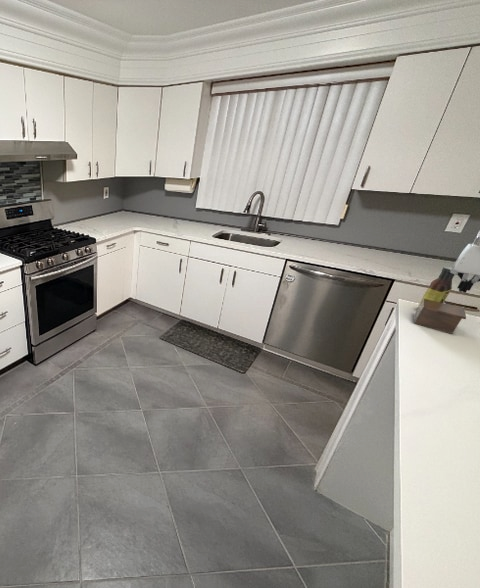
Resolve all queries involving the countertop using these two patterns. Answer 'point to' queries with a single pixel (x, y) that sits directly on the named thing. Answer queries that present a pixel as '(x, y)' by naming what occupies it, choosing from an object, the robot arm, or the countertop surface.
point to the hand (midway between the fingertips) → (462, 291)
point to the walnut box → (436, 320)
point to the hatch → (444, 308)
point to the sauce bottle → (439, 287)
